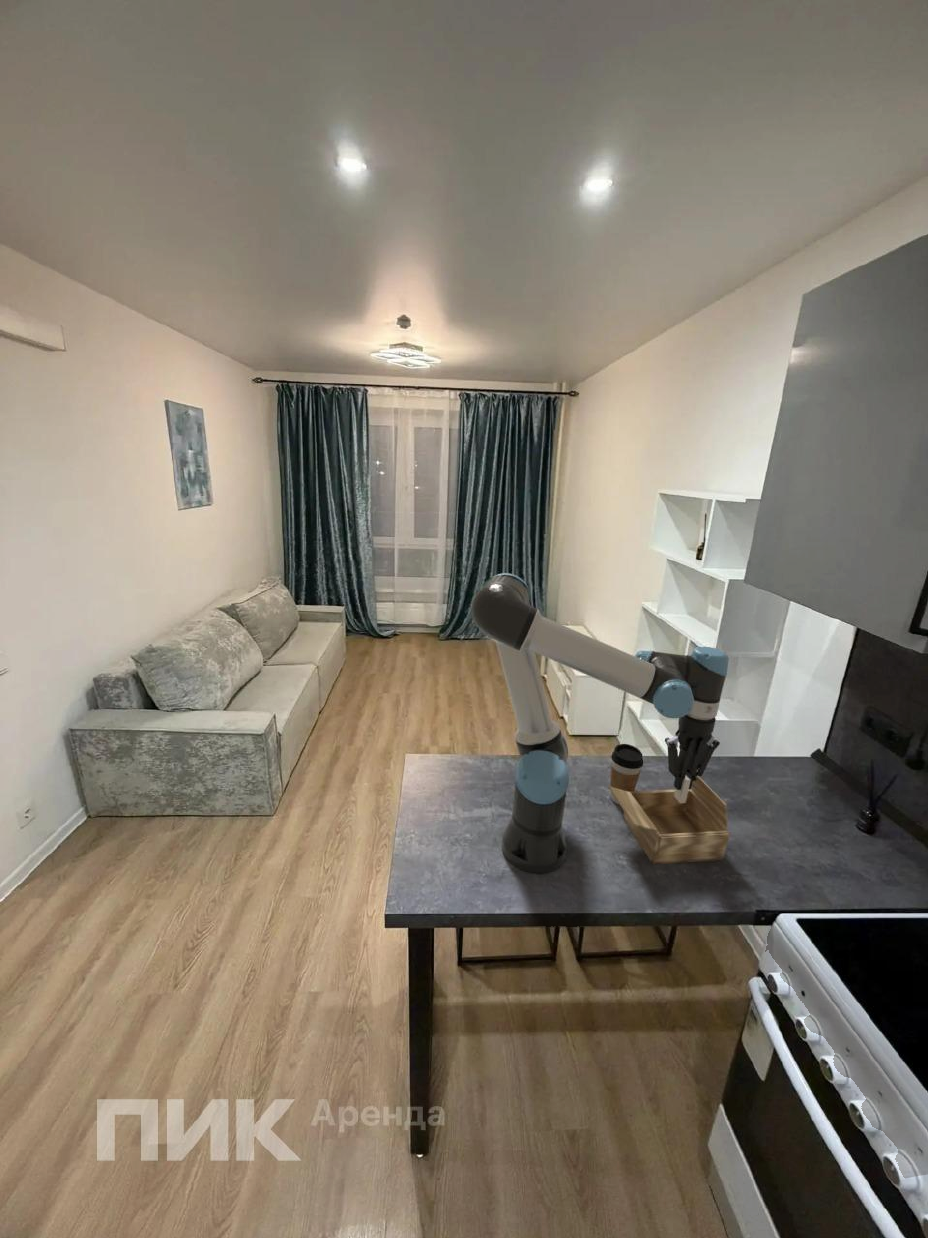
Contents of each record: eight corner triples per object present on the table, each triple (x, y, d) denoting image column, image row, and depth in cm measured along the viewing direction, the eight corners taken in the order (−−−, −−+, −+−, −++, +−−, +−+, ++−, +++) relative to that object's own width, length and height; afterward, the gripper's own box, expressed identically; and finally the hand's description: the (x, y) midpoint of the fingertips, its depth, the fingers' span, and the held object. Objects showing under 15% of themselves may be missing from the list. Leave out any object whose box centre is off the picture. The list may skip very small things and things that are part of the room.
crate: (653, 866, 116) (659, 837, 114) (622, 817, 132) (626, 791, 130) (724, 861, 119) (731, 833, 117) (684, 813, 135) (690, 788, 133)
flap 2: (725, 827, 118) (725, 805, 116) (691, 790, 131) (690, 769, 129) (727, 826, 118) (726, 804, 116) (693, 789, 131) (692, 769, 129)
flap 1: (657, 832, 115) (633, 825, 114) (629, 793, 128) (608, 787, 127) (657, 830, 115) (634, 824, 114) (630, 792, 128) (609, 786, 127)
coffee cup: (632, 790, 144) (640, 744, 139) (639, 809, 135) (648, 762, 131) (602, 787, 144) (610, 741, 140) (607, 806, 136) (615, 758, 132)
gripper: (681, 721, 111) (662, 811, 118) (734, 720, 113) (713, 808, 120) (663, 706, 118) (647, 791, 125) (714, 705, 120) (695, 789, 127)
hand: (679, 799), depth 122 cm, fingers closed
